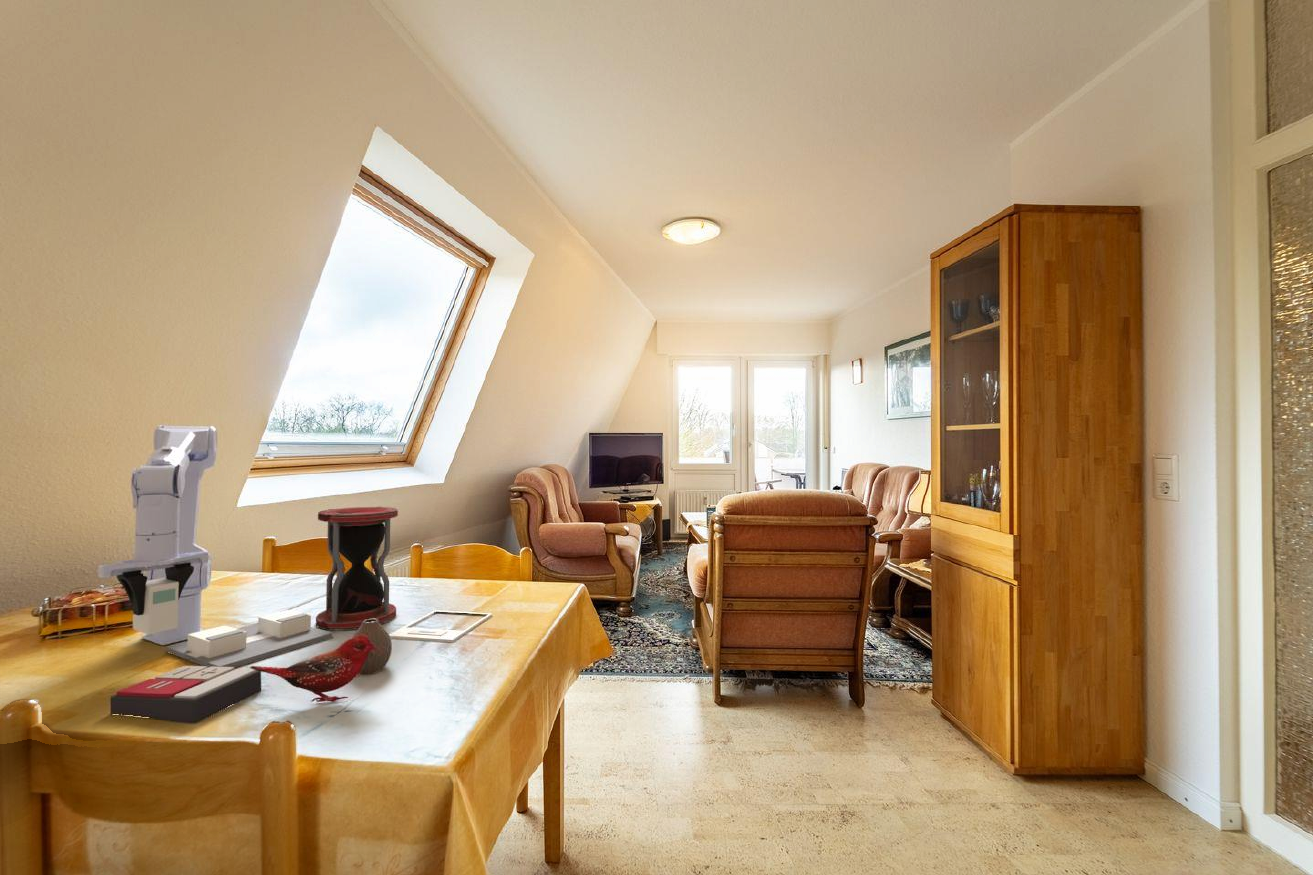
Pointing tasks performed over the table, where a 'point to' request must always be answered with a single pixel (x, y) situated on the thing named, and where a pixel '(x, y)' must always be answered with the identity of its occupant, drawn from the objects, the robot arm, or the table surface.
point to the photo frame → (433, 630)
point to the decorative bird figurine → (326, 668)
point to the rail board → (250, 640)
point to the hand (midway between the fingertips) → (155, 610)
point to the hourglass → (357, 567)
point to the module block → (158, 607)
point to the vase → (380, 640)
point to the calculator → (187, 693)
